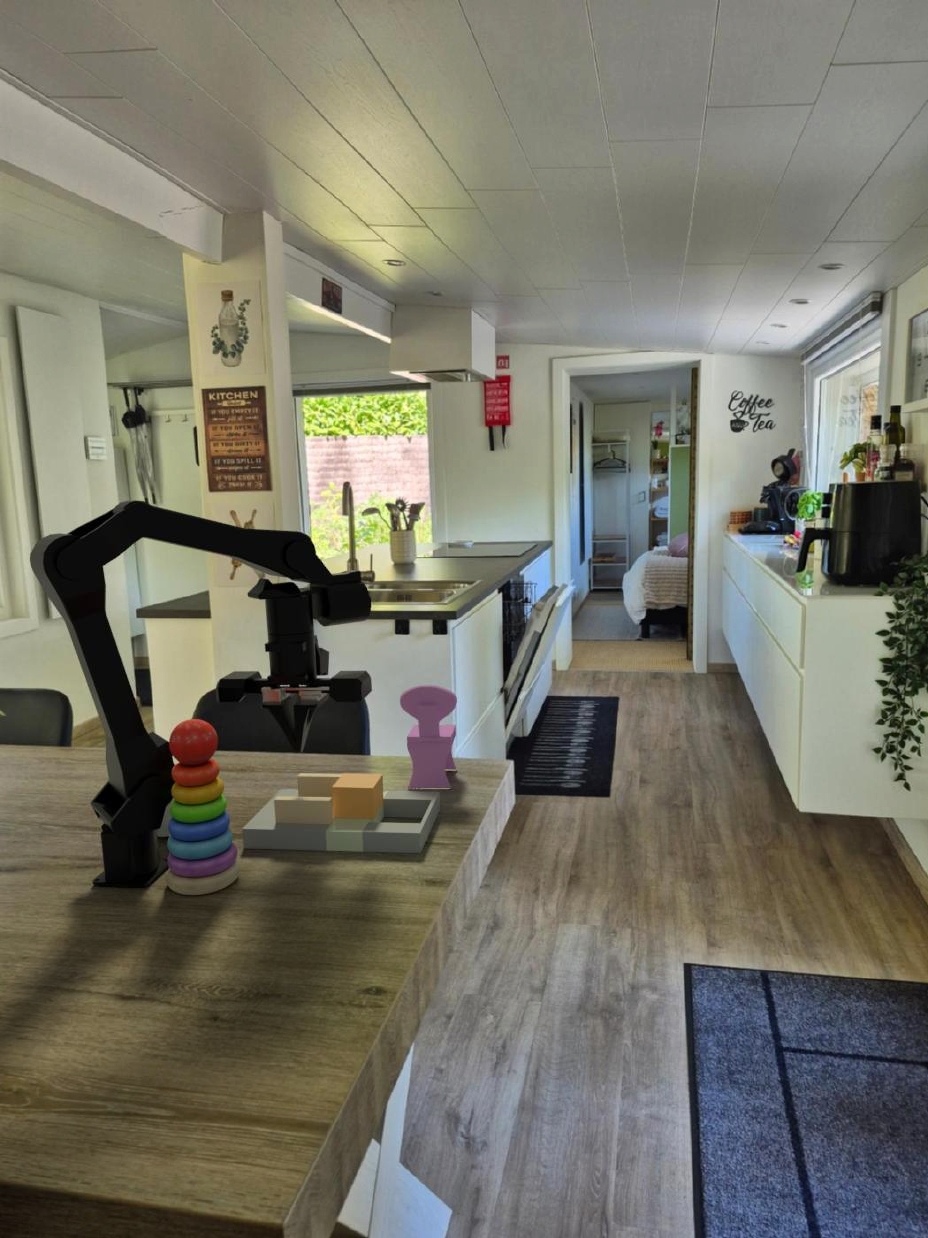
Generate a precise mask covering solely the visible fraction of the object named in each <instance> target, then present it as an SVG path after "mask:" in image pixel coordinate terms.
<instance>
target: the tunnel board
mask: <svg viewBox="0 0 928 1238" xmlns="http://www.w3.org/2000/svg"><path fill="white" fill-rule="evenodd" d="M342 774H343V773H307V772H306V773H305V772H303V773H301V772H300V773H298V774H297V776H296V778H297V779H296V780H297V782H296V783H297V788H296V789H295V788H292V789H291V788H281V789H280V790H278V792H277V793H276V794H275V795H274V796H273V797H272V798H271V799H270V800H269V801H268V802H267V803H266V804H265V805H264V806H263V807H262V808H260V810H259V811H258V812H257V813H256V814H255V815H254V816H253V817H252V818H251V819H250V820H249V821H248V822H247V823H246V824H245V825H244V826H243V827H242V828H241V830H242V831H241V832H242V833H241V835H242V844H243V845H242V846H243V849H249V850H250V849H252V850H253V849H254V850H255V849H256V850H285V851H286V850H287V851H288V850H292V851H293V850H294V851H295V850H296V851H298V850H299V851H323V852H325V851H327V852H363V853H365V852H366V853H367V852H369V853H395V854H397V853H399V854H401V853H403V854H404V853H405V854H421V853H422V851H423V849H424V847H425V845H426V843H425V842H427V840H428V838H429V836H428V835H430V834H429V833H431V831H432V828H433V827H432V826H434V824H435V822H436V820H435V819H437V818H436V817H438V815H439V813H440V811H441V801H440V800H441V799H440V791H422V790H406V791H405V790H387V791H386V790H385V791H384V790H383V800H384V804H383V806H382V807H381V809H380V811H379V812H378V814H377V815H376V817H375V819H357V818H333V797H332V786H333V785H334V784H335V783H336V782H337V780H338V779H339V778H340V777H341V776H342ZM439 810H440V811H439ZM438 812H439V813H438ZM437 814H438V815H437ZM384 818H409V819H410V818H411V819H413V818H415V819H417V818H419V819H421V821H420V822H382V821H383V820H384ZM434 821H435V822H434Z"/></svg>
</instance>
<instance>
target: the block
mask: <svg viewBox="0 0 928 1238" xmlns="http://www.w3.org/2000/svg"><path fill="white" fill-rule="evenodd" d="M341 774H342V776H341V777H340V778H339V779H338V780H337V782H336V783H335V784H334V785H333V786H332V797H333V818H357V819H375V817H376V815H377V814H378V812H379V811H380V809H381V807H382V806H383V804H384V800H383V791H384V780H383V779H384V778H383V777H384V776H383V775H384V774H382V773H354V772H353V773H351V772H350V773H349V772H345V773H344V772H343V773H341Z"/></svg>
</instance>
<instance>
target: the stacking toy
mask: <svg viewBox="0 0 928 1238" xmlns="http://www.w3.org/2000/svg"><path fill="white" fill-rule="evenodd" d="M218 741H219V739H218V734H217V731H216V730H215V728H214V726H212V725H211V724H210V723H209V722H207V721H205V720H203V719H199V718H191V719H186V720H183V721H181V722H179V724H177V725H176V726H175V727H174V728H173V729H172V731H171V733H170V735H169V739H168V742H169V747H170V751H171V753H172V755H173V756H174V758H175V759H176V760H177V761H179V762H178V763H177V764H176V765H175V766H174V767H173V769H172V778H173V780H174V781H175V782H176V783H175V784H174V785H173V787H172V796H173V798H174V799H175V800H174V801H173V802H172V803H171V806H170V813H171V816H172V818H171V819H170V821H169V824H168V830H169V833H170V834H171V835H170V836H168V839H167V841H166V843H167V844H166V846H167V849H168V852H169V853H168V856H167V858H168V860H167V862H168V870H167V871H166V874H165V881H166V885H167V887H168V888H169V889H170V890H172V891H173V892H175V893H178V894H181V895H184V896H186V895H187V896H198V895H199V896H200V895H206V894H212V893H215V892H218V891H220V890H222V889H225V888H227V887H228V886H229V885H231V884H233V882H235V881H236V879H237V878H238V877H239V875H240V872H241V865H240V863H239V861H238V860H237V858H238V848H237V846H236V844H235V843H234V842H233V841H234V840H233V839H234V835H233V831H232V830H231V828H230V827H229V825H230V822H231V819H230V815H229V813H228V811H226V809H227V806H228V801H227V798H226V797H225V796H224V794H223V793H224V790H225V784H224V782H223V779H221V778H220V777H218V776H219V775H220V766H219V763H218V762H217V761H215V760H214V759H212V757H214V754H215V753H216V751H217V749H218V744H219V742H218Z"/></svg>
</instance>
